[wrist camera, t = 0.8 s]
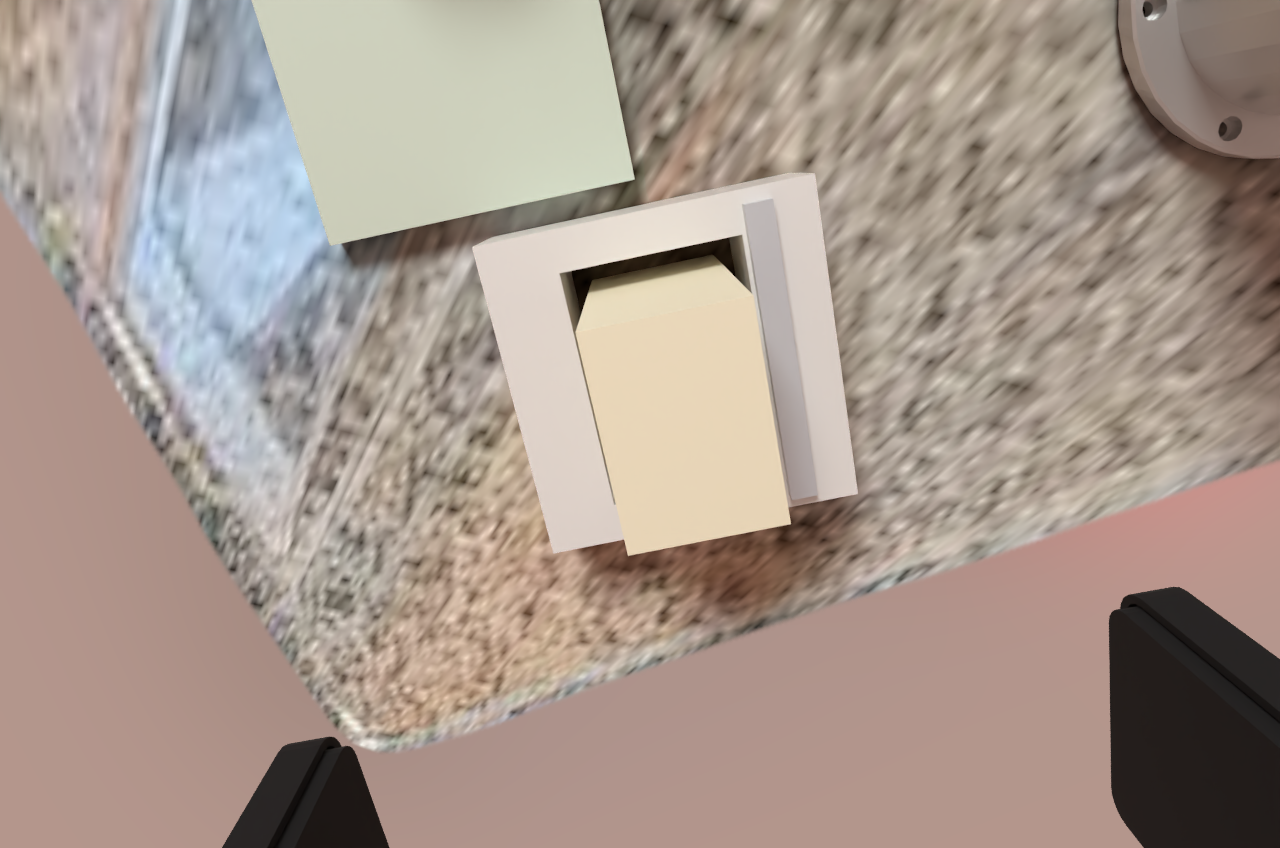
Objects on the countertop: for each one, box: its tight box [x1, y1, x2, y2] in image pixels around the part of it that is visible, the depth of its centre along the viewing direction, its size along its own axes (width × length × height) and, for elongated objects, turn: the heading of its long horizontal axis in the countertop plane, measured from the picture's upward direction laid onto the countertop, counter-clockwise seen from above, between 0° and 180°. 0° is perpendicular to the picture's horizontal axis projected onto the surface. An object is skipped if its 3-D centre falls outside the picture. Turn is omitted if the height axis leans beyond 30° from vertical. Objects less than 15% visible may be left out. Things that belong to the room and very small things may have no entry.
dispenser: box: [472, 173, 858, 553], centre depth 31 cm, size 12×12×5 cm
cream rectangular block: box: [575, 255, 791, 556], centre depth 28 cm, size 5×7×11 cm
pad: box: [252, 0, 635, 246], centre depth 30 cm, size 12×9×1 cm
